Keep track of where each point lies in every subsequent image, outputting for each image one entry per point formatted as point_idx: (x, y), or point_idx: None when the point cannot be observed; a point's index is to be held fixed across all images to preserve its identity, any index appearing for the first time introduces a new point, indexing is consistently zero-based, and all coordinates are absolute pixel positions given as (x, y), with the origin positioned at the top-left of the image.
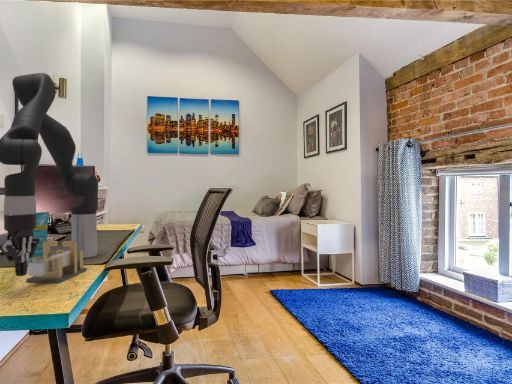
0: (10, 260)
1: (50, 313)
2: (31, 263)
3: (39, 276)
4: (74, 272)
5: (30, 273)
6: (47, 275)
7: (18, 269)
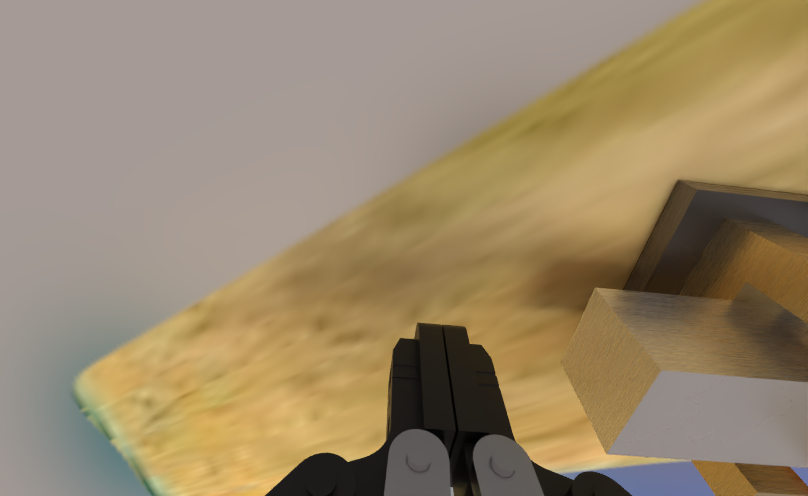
0: (299, 484)
1: (152, 482)
2: (644, 395)
3: (702, 274)
4: None
5: (597, 314)
6: None
7: (388, 398)
